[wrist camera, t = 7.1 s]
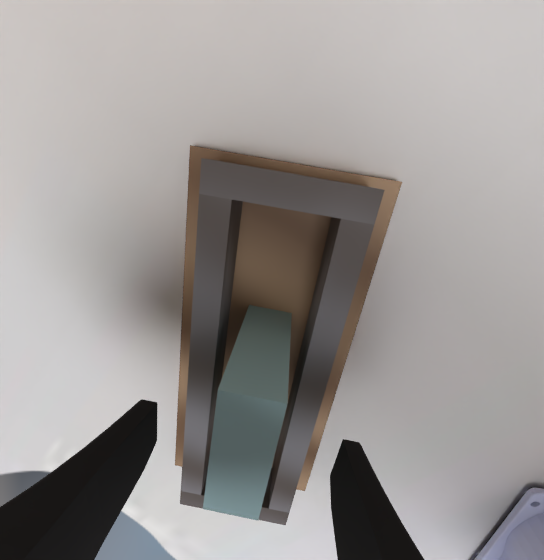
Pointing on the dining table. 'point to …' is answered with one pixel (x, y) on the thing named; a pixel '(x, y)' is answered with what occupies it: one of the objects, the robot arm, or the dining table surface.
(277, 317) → the door panel
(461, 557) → the dining table surface
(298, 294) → the floor track
